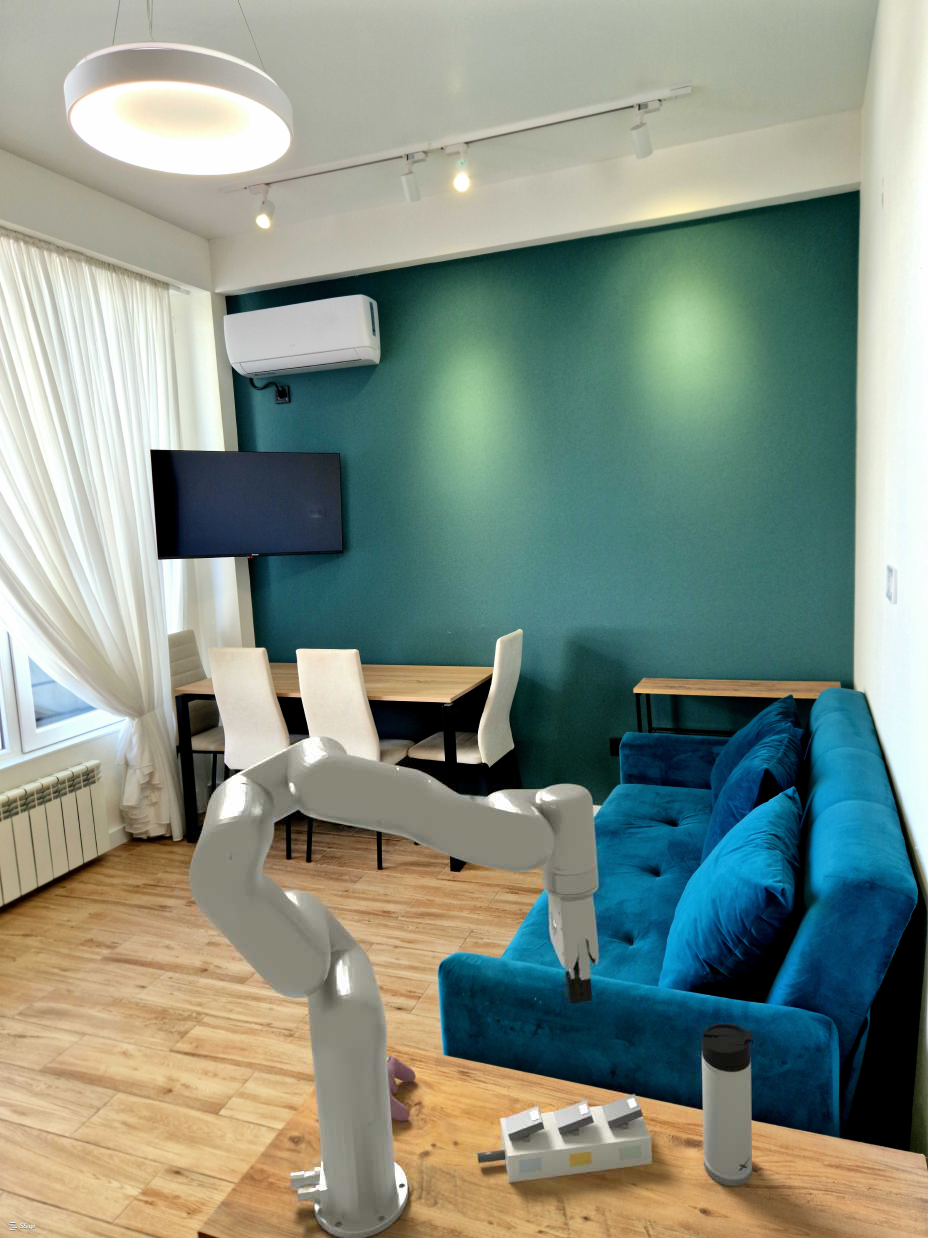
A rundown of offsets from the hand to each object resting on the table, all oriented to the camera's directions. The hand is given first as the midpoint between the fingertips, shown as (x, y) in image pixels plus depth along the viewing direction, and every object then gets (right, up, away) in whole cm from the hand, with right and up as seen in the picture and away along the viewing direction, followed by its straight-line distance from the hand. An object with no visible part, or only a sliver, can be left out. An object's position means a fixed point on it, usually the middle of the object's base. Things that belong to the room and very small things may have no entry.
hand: (579, 999), depth 114 cm
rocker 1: (-8, -17, 0) cm, 19 cm away
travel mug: (+20, -22, -3) cm, 30 cm away
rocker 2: (+6, -16, +1) cm, 18 cm away
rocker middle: (-1, -17, 0) cm, 17 cm away
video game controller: (-27, -23, +14) cm, 38 cm away
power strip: (-2, -23, +1) cm, 23 cm away
